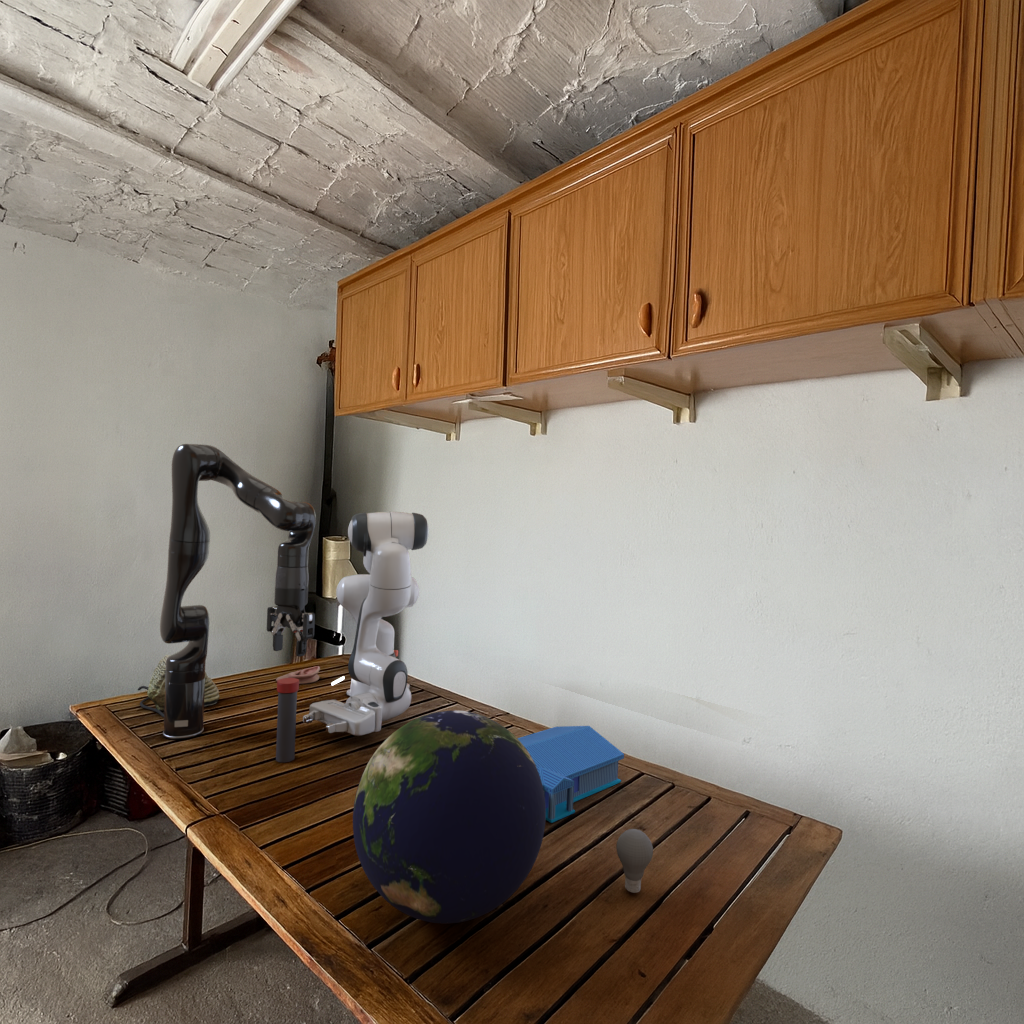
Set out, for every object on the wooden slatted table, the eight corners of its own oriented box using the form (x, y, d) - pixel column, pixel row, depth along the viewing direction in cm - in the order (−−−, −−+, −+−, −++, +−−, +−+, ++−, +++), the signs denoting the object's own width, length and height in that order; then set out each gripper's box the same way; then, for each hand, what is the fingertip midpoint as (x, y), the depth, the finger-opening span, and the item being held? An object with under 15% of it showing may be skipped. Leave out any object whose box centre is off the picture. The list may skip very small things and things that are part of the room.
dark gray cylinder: (297, 756, 154) (300, 680, 153) (289, 763, 149) (292, 685, 149) (281, 754, 154) (284, 679, 154) (272, 761, 150) (275, 684, 150)
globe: (306, 934, 92) (314, 729, 91) (413, 836, 119) (420, 678, 119) (495, 1005, 80) (505, 771, 80) (565, 878, 108) (573, 704, 108)
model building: (505, 843, 118) (507, 790, 118) (429, 794, 136) (431, 748, 136) (632, 786, 145) (634, 743, 144) (555, 752, 163) (557, 713, 163)
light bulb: (610, 879, 108) (613, 822, 108) (644, 879, 109) (647, 822, 109) (619, 902, 102) (622, 840, 102) (655, 901, 103) (658, 840, 103)
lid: (302, 688, 154) (302, 678, 154) (292, 694, 149) (292, 684, 149) (283, 686, 154) (283, 677, 154) (272, 692, 149) (273, 682, 149)
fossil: (144, 707, 182) (145, 655, 182) (212, 696, 194) (213, 647, 194) (151, 716, 175) (153, 662, 175) (221, 703, 188) (223, 653, 188)
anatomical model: (271, 670, 211) (289, 662, 222) (270, 682, 211) (289, 673, 222) (307, 674, 208) (324, 665, 220) (306, 686, 208) (324, 677, 220)
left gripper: (258, 583, 151) (256, 651, 152) (300, 589, 144) (297, 661, 145) (284, 580, 158) (281, 645, 158) (325, 586, 151) (322, 655, 151)
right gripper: (335, 691, 176) (291, 702, 164) (385, 708, 163) (342, 721, 152) (334, 713, 176) (291, 726, 165) (384, 732, 163) (341, 747, 152)
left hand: (289, 653), depth 151 cm, fingers open, 7 cm apart
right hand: (315, 724), depth 158 cm, fingers open, 8 cm apart
